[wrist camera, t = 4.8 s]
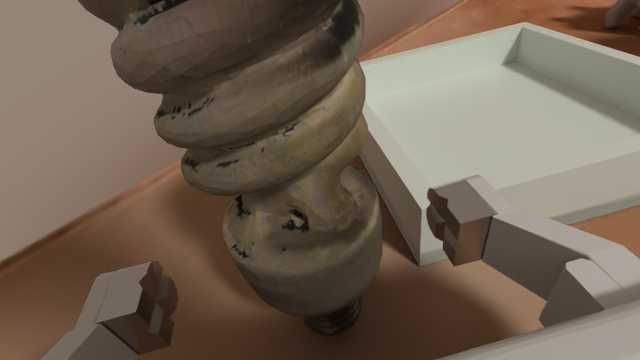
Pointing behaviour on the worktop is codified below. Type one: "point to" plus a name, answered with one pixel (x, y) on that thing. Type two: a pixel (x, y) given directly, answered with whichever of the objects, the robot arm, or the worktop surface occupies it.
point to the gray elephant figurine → (621, 12)
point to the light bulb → (267, 136)
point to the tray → (504, 126)
